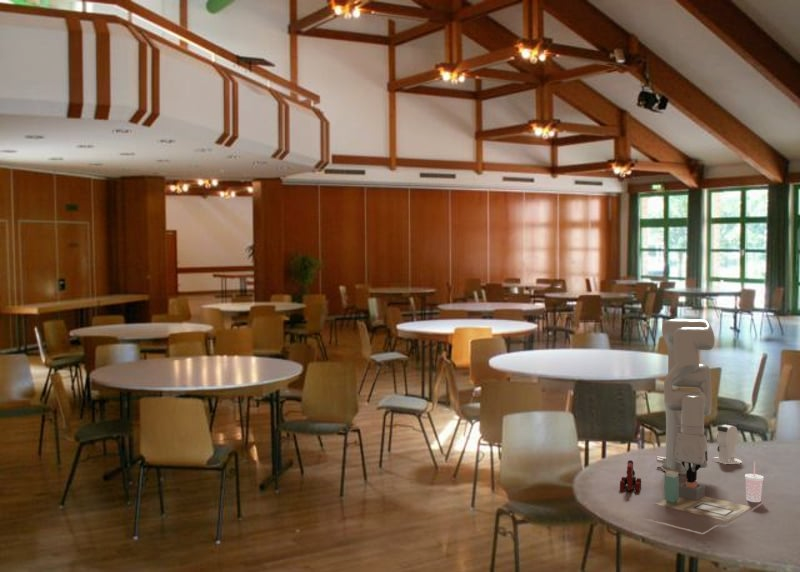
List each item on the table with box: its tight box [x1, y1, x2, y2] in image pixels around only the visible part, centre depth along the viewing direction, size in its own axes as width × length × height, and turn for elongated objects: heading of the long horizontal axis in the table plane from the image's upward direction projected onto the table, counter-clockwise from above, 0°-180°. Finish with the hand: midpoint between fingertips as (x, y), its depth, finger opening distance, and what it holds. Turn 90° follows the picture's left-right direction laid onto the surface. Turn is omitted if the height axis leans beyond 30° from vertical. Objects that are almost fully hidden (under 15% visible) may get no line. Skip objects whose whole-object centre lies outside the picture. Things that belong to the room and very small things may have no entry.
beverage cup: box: [744, 461, 765, 503], centre depth 283 cm, size 6×6×14 cm
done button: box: [685, 479, 698, 488], centre depth 286 cm, size 4×4×5 cm
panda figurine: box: [713, 422, 743, 465], centre depth 335 cm, size 12×11×15 cm
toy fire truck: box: [619, 460, 642, 494], centre depth 296 cm, size 7×12×10 cm, turn 160°
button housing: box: [679, 481, 706, 501], centre depth 286 cm, size 7×7×4 cm
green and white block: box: [664, 471, 680, 504], centre depth 279 cm, size 3×3×11 cm
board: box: [654, 495, 752, 524], centre depth 277 cm, size 25×20×1 cm
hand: (691, 481), depth 286 cm, fingers closed
